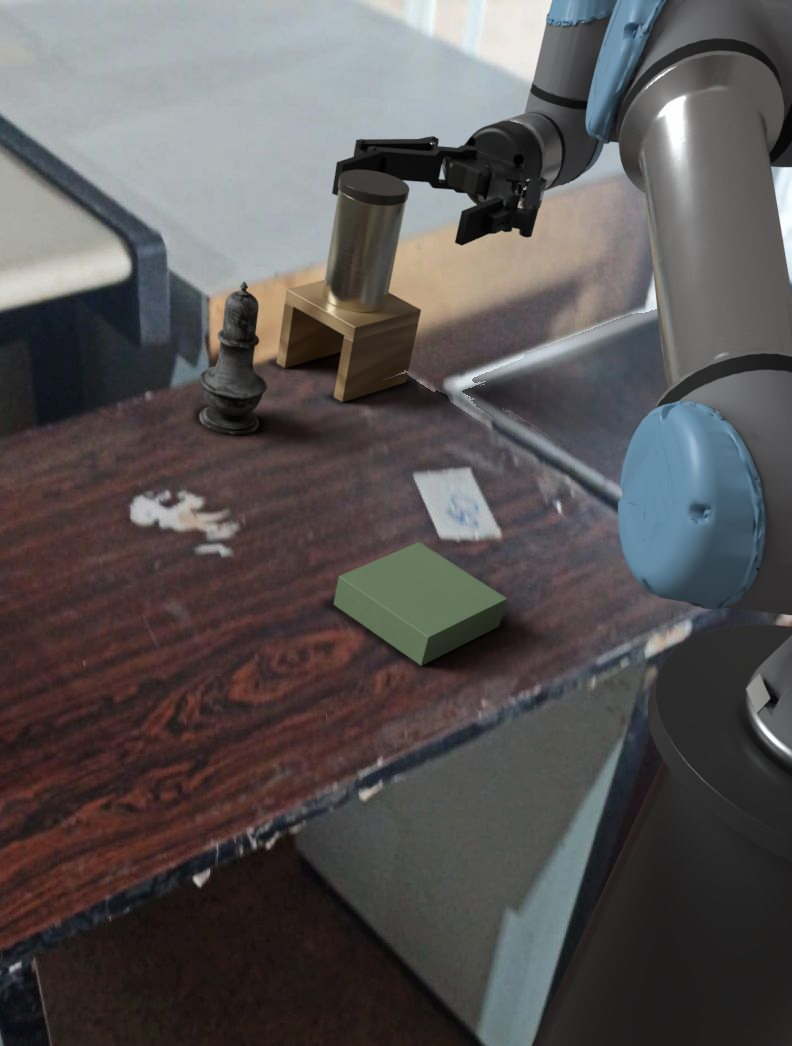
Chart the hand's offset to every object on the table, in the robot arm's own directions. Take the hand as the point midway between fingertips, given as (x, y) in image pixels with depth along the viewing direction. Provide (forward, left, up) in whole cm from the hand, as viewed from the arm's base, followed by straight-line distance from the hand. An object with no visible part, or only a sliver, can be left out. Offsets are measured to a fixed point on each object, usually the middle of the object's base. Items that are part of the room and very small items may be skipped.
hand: (398, 203), depth 116 cm
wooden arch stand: (-1, +5, -14) cm, 15 cm away
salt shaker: (-3, +21, -15) cm, 26 cm away
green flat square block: (-33, +29, -14) cm, 46 cm away
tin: (-1, +5, -7) cm, 9 cm away
